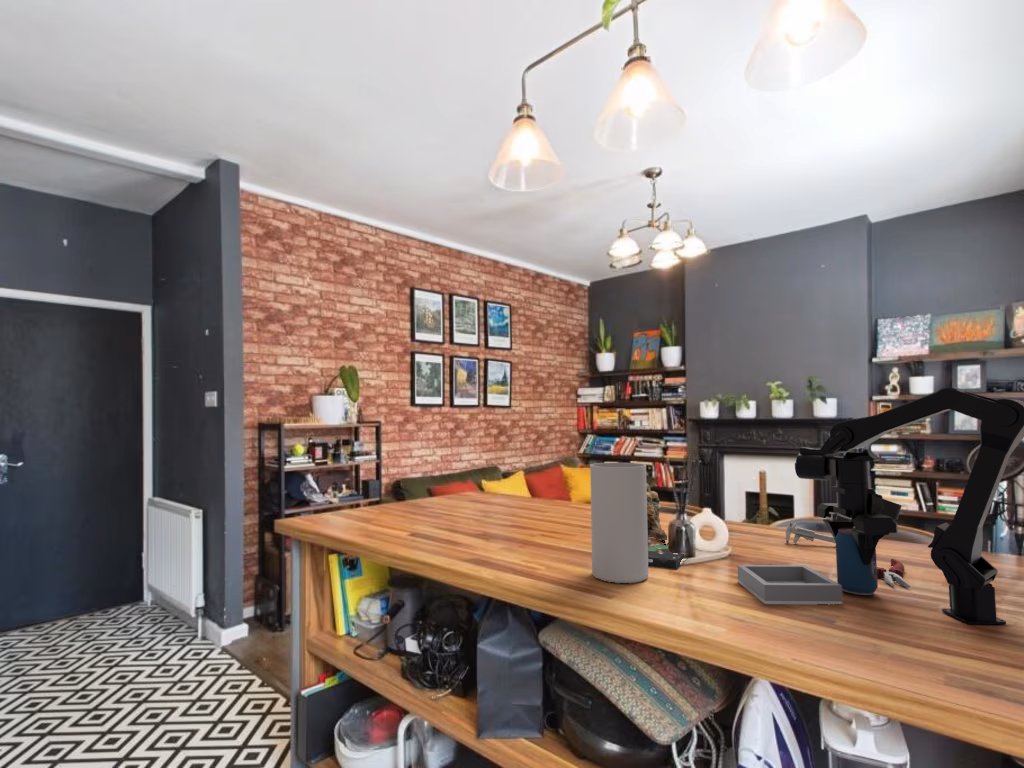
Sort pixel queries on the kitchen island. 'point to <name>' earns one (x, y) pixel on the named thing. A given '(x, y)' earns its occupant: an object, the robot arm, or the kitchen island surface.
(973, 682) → the kitchen island surface
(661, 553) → the disk drive
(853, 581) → the soda can
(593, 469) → the cylinder vase
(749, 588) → the tray
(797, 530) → the caliper
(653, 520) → the owl figurine
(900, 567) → the pliers
